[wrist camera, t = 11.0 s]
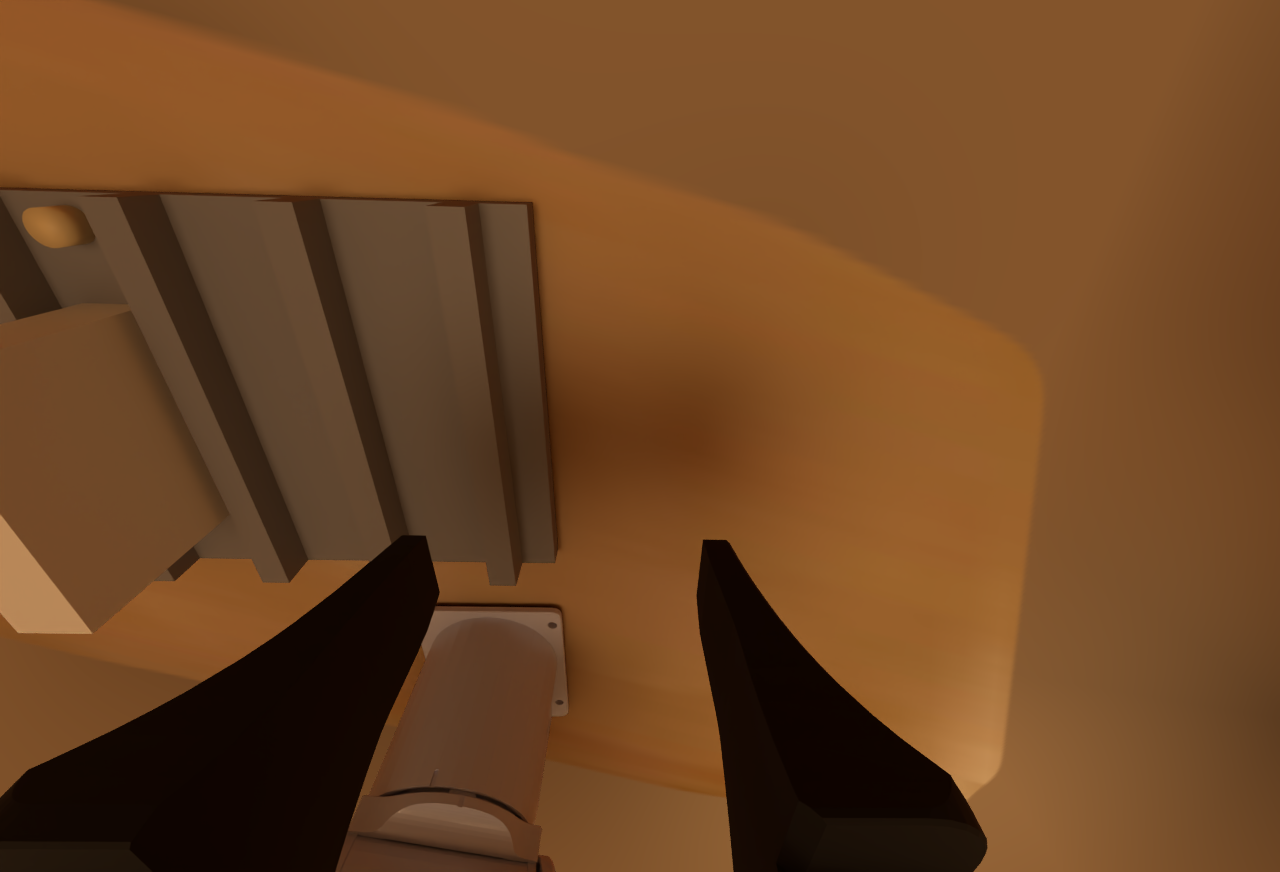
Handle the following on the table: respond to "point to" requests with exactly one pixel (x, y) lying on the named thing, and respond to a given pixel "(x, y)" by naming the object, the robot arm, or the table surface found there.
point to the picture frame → (91, 470)
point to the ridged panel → (323, 360)
